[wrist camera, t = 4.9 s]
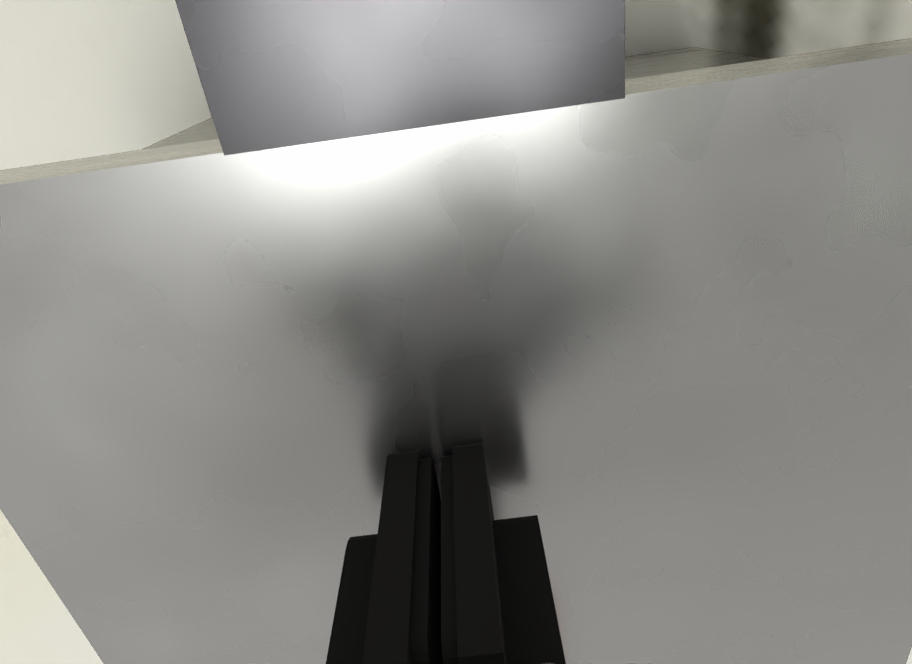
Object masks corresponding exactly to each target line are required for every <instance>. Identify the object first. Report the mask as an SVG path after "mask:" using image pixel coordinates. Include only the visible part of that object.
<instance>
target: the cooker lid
mask: <svg viewBox="0 0 912 664" xmlns="http://www.w3.org/2000/svg"><path fill="white" fill-rule="evenodd" d="M175 1H176V4H177V7H178V11H179V14H180V17H181V20H182V23H183V26H184V30H185V33H186V36H187V39H188V42H189V46H190V49H191V52H192V55H193V58H194V61H195V65H196V68H197V71H198V74H199V77H200V80H201V84H202V87H203V90H204V93H205V96H206V99H207V103H208V106H209V109H210V112H211V115H212V119H213V122H214V125H215V128H216V131H217V134H218V138H219V139H213V140H206V141H199V142H192V143H185V144H178V145H171V146H165V147H158V148H151V149H144V150H137V151H130V152H123V153H116V154H109V155H103V156H96V157H89V158H82V159H75V160H68V161H61V162H54V163H47V164H40V165H34V166H27V167H20V168H13V169H6V170H0V509H1V511H2V512H3V514H4V515H5V517H6V518H7V520H8V521H9V523H10V524H11V526H12V527H13V528H14V530H15V531H16V533H17V534H18V536H19V537H20V539H21V540H22V542H23V543H24V545H25V546H26V548H27V549H28V551H29V552H30V554H31V555H32V557H33V558H34V560H35V561H36V563H37V564H38V566H39V567H40V569H41V570H42V572H43V573H44V575H45V576H46V578H47V579H48V581H49V582H50V584H51V585H52V587H53V588H54V590H55V591H56V593H57V594H58V596H59V597H60V599H61V600H62V602H63V603H64V605H65V606H66V608H67V609H68V611H69V612H70V614H71V615H72V617H73V618H74V620H75V621H76V623H77V624H78V626H79V627H80V629H81V630H82V632H83V633H84V635H85V636H86V638H87V639H88V641H89V642H90V644H91V645H92V647H93V648H94V650H95V651H96V653H97V654H98V656H99V657H100V659H101V660H102V662H103V663H104V664H326V659H327V654H328V648H329V642H330V636H331V631H332V625H333V619H334V613H335V608H336V602H337V596H338V590H339V585H340V579H341V573H342V567H343V562H344V556H345V550H346V546H347V542H348V540H349V538H350V537H355V536H363V535H372V534H378V527H379V518H380V510H381V501H382V493H383V484H384V476H385V468H386V459H387V456H388V454H396V453H404V452H413V451H419V452H420V454H421V458H422V459H425V458H432V459H433V463H434V468H435V473H436V478H437V483H438V489H439V494H440V499H441V456H450V455H452V447H454V446H462V445H470V444H478V443H483V445H484V451H485V458H486V465H487V472H488V479H489V486H490V493H491V500H492V507H493V514H494V520H500V519H508V518H517V517H525V516H534V515H537V516H538V520H539V525H540V530H541V536H542V541H543V546H544V551H545V557H546V562H547V567H548V572H549V578H550V583H551V588H552V593H553V599H554V604H555V609H556V614H557V620H558V625H559V630H560V635H561V641H562V646H563V651H564V657H565V662H566V664H906V662H907V659H908V656H909V653H910V650H911V647H912V38H910V39H903V40H896V41H889V42H882V43H875V44H868V45H861V46H854V47H848V48H841V49H834V50H827V51H820V52H813V53H806V54H799V55H792V56H785V57H779V58H772V59H765V60H758V61H751V62H744V63H737V64H730V65H723V66H716V67H710V68H703V69H696V70H689V71H682V72H675V73H668V74H661V75H654V76H647V77H641V78H634V79H627V80H625V3H624V0H175Z"/></svg>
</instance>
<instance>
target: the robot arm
mask: <svg viewBox="0 0 912 664" xmlns="http://www.w3.org/2000/svg"><path fill="white" fill-rule="evenodd" d="M326 664H566V662H565V657H564V651H563V646H562V641H561V635H560V630H559V625H558V620H557V614H556V609H555V604H554V599H553V593H552V588H551V583H550V578H549V572H548V567H547V562H546V557H545V551H544V546H543V541H542V536H541V530H540V525H539V520H538V516H537V515H534V516H525V517H517V518H508V519H500V520H494V514H493V507H492V500H491V493H490V486H489V479H488V472H487V465H486V458H485V451H484V445H483V443H478V444H470V445H462V446H454V447H452V455H450V456H441V499H440V494H439V489H438V483H437V478H436V473H435V468H434V463H433V459H432V458H425V459H422V458H421V454H420V452H419V451H413V452H404V453H396V454H388V456H387V459H386V468H385V476H384V484H383V493H382V501H381V510H380V518H379V527H378V534H372V535H363V536H355V537H350V538H349V540H348V542H347V546H346V550H345V556H344V562H343V567H342V573H341V579H340V585H339V590H338V596H337V602H336V608H335V613H334V619H333V625H332V631H331V636H330V642H329V648H328V654H327V659H326Z"/></svg>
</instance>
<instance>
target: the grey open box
mask: <svg viewBox="0 0 912 664" xmlns="http://www.w3.org/2000/svg"><path fill="white" fill-rule="evenodd" d="M758 60H765V59H762V58H756V57H750V56H744V55H738V54H732V53H726V52H720V51H714V50H708V49H702V48H696V47H692V48H685V49H678V50H671V51H665V52H658V53H651V54H644V55H637V56H631V57H625V80H627V79H634V78H641V77H647V76H654V75H661V74H668V73H675V72H682V71H689V70H696V69H703V68H710V67H716V66H723V65H730V64H737V63H744V62H751V61H758ZM213 139H219V138H218V134H217V131H216V128H215V125H214V122H213V119H212V118H210V119H208V120H206V121H203V122H201V123H199V124H197V125H195V126H192V127H190V128H188V129H186V130H184V131H181V132H179V133H177V134H175V135H172V136H170V137H168V138H166V139H164V140H161V141H159V142H157V143H155V144H153V145H150V146H148V147H146V148H144V149H151V148H158V147H165V146H171V145H178V144H185V143H192V142H199V141H206V140H213ZM144 149H142V150H144Z"/></svg>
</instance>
